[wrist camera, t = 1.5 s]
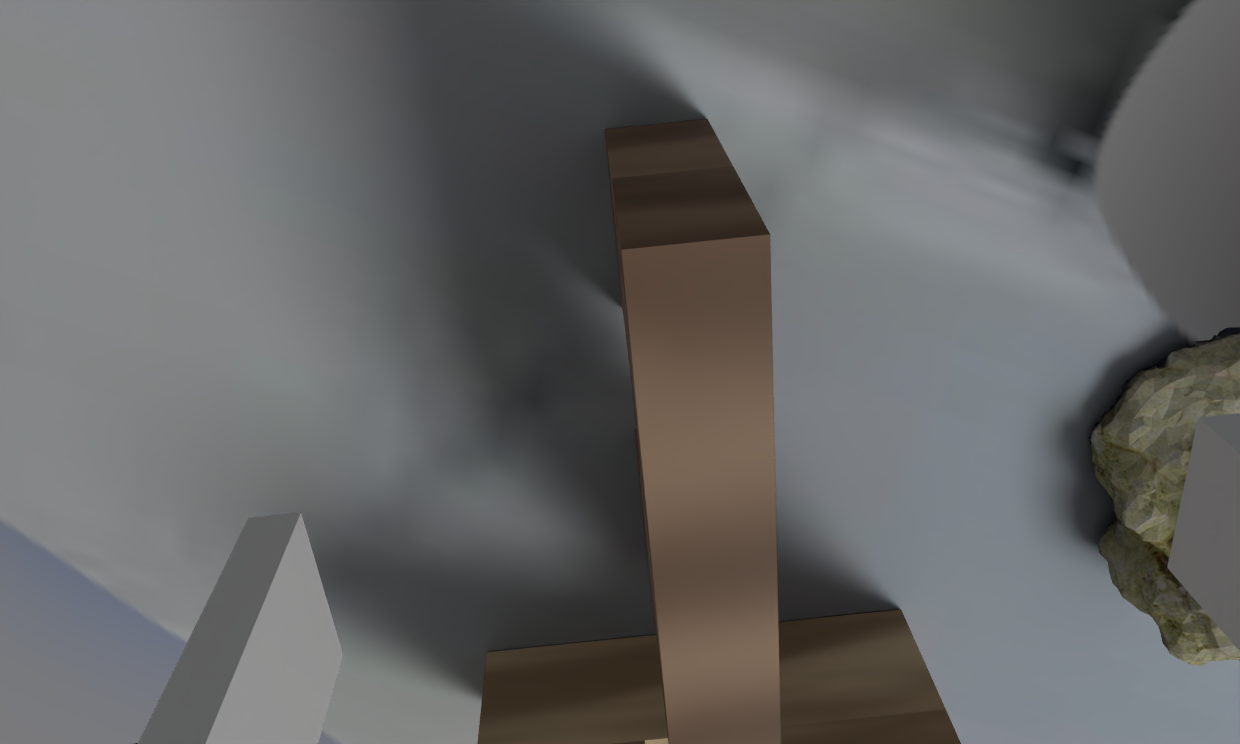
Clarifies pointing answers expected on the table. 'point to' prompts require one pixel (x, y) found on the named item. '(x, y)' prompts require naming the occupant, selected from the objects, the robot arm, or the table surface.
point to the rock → (1163, 484)
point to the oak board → (809, 688)
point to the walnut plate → (702, 425)
